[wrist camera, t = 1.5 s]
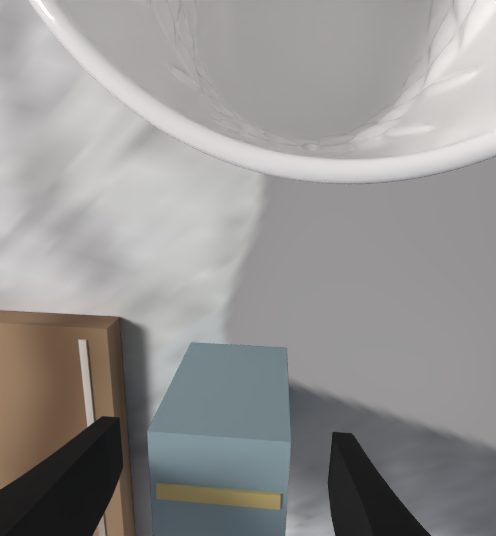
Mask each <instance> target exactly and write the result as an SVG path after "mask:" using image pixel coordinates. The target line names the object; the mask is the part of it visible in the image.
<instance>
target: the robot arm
mask: <svg viewBox="0 0 496 536" xmlns="http://www.w3.org/2000/svg"><path fill="white" fill-rule="evenodd" d="M123 467H124V466H123V454H122V442H121V429H120V417H109V416H102V417H100V418H99V419H98V420H96V421H95V422H94V423H92V424H91V425H90V426H88V427H87V428H86V429H84V430H83V431H82V432H81V433H79V434H78V435H77V436H75V437H74V438H73V439H72V440H70V441H69V442H68V443H66V444H65V445H64V446H62V447H61V448H60V449H58V450H57V451H56V452H54V453H53V454H52V455H50V456H49V457H48V458H46V459H45V460H43V461H42V462H40V463H39V464H38V465H36V466H35V467H33V468H32V469H30V470H29V471H28V472H26V473H25V474H23V475H22V476H20V477H19V478H17V479H16V480H14V481H13V482H11V483H10V484H8V485H7V486H5V487H3V488H2V489H0V536H93V534H94V532H95V530H96V528H97V526H98V524H99V522H100V520H101V518H102V516H103V514H104V512H105V510H106V508H107V507H108V505H109V502H110V500H111V498H112V496H113V494H114V491H115V488H116V486H117V483H118V481H119V478H120V475H121V472H122V470H123ZM328 489H329V499H330V508H331V517H332V522H333V527H334V532H335V536H431V535H430V534H429V533H428V532H427V531H426V530H425V529H424V528H423V527H422V525H421V524H420V523H419V522H418V521H417V520H416V519H415V518H414V516H413V515H412V514H411V513H410V512H409V511H408V509H407V508H406V507H405V506H404V505H403V503H402V502H401V501H400V500H399V499H398V497H397V496H396V495H395V493H394V492H393V491H392V490H391V488H390V487H389V486H388V484H387V483H386V482H385V480H384V479H383V478H382V476H381V475H380V474H379V472H378V471H377V469H376V468H375V467H374V465H373V464H372V462H371V461H370V459H369V458H368V457H367V455H366V454H365V452H364V451H363V449H362V447H361V446H360V444H359V443H358V441H357V440H356V438H355V437H354V435H353V434H352V433H339V432H333V435H332V446H331V456H330V466H329V476H328Z"/></svg>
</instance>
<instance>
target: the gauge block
mask: <svg viewBox="0 0 496 536" xmlns="http://www.w3.org/2000/svg"><path fill="white" fill-rule="evenodd" d="M147 439H148V456H149V474H150V491H151V509H152V527H153V536H285V530H286V514H287V499H288V483H289V467H290V452H291V429H290V406H289V384H288V362H287V348H285V347H268V346H250V345H233V344H211V343H193V342H191V344H190V346H189V348H188V350H187V352H186V354H185V356H184V358H183V360H182V362H181V364H180V366H179V368H178V370H177V372H176V374H175V376H174V378H173V380H172V382H171V384H170V386H169V388H168V390H167V392H166V394H165V396H164V398H163V400H162V402H161V404H160V406H159V408H158V410H157V412H156V414H155V416H154V418H153V420H152V422H151V424H150V426H149V428H148V430H147Z"/></svg>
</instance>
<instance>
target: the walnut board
mask: <svg viewBox="0 0 496 536" xmlns="http://www.w3.org/2000/svg"><path fill="white" fill-rule="evenodd" d="M102 416H109V417H120V429H121V442H122V454H123V466H124V467H123V470H122V472H121V475H120V478H119V481H118V483H117V486H116V488H115V491H114V494H113V496H112V498H111V500H110V502H109V505H108V507H107V508H106V510H105V512H104V514H103V516H102V518H101V520H100V522H99V524H98V526H97V528H96V530H95V532H94V534H93V536H135V524H134V510H133V496H132V483H131V469H130V455H129V441H128V428H127V414H126V400H125V387H124V373H123V359H122V346H121V332H120V318H119V317H111V316H92V315H74V314H55V313H36V312H18V311H0V489H2V488H3V487H5V486H7V485H8V484H10V483H11V482H13V481H14V480H16V479H17V478H19V477H20V476H22V475H23V474H25V473H26V472H28V471H29V470H30V469H32V468H33V467H35V466H36V465H38V464H39V463H40V462H42V461H43V460H45V459H46V458H48V457H49V456H50V455H52V454H53V453H54V452H56V451H57V450H58V449H60V448H61V447H62V446H64V445H65V444H66V443H68V442H69V441H70V440H72V439H73V438H74V437H75V436H77V435H78V434H79V433H81V432H82V431H83V430H84V429H86V428H87V427H88V426H90V425H91V424H92V423H94V422H95V421H96V420H98V419H99V418H100V417H102Z"/></svg>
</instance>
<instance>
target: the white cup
mask: <svg viewBox="0 0 496 536" xmlns="http://www.w3.org/2000/svg"><path fill="white" fill-rule="evenodd" d="M29 2H30V3H31V5H32V6H33V8H34V9H35V10H36V12H37V13H38V15H39V16H40V17H41V19H42V20H43V21H44V23H45V24H46V25H47V27H48V28H49V29H50V30H51V32H52V33H53V34H54V35H55V37H56V38H57V39H58V40H59V41H60V43H61V44H62V45H63V46H64V47H65V48H66V50H67V51H68V52H69V53H70V54H71V55H72V56H73V57H74V58H75V60H76V61H77V62H78V63H79V64H80V65H81V66H82V67H83V68H84V69H85V70H86V71H87V72H88V73H89V74H90V75H91V76H92V77H93V78H94V79H95V80H96V81H97V82H99V83H100V84H101V85H102V86H103V87H104V88H105V89H106V90H107V91H109V92H110V93H111V94H112V95H113V96H114V97H116V98H117V99H118V100H119V101H120V102H122V103H123V104H124V105H126V106H127V107H128V108H129V109H131V110H132V111H133V112H135V113H136V114H137V115H139V116H140V117H142V118H143V119H145V120H146V121H148V122H149V123H151V124H152V125H154V126H155V127H157V128H158V129H160V130H162V131H163V132H165V133H167V134H168V135H170V136H172V137H173V138H175V139H177V140H179V141H181V142H183V143H184V144H186V145H188V146H190V147H192V148H194V149H196V150H199V151H201V152H203V153H205V154H207V155H210V156H212V157H214V158H217V159H219V160H222V161H225V162H227V163H230V164H233V165H236V166H239V167H242V168H245V169H248V170H252V171H255V172H259V173H263V174H267V175H272V176H276V177H281V178H286V179H293V180H299V181H307V182H316V183H330V184H331V183H332V184H371V183H384V182H393V181H401V180H408V179H415V178H420V177H426V176H431V175H435V174H439V173H443V172H447V171H451V170H455V169H459V168H462V167H465V166H469V165H472V164H475V163H479V162H481V161H484V160H487V159H490V158H493V157H495V156H496V0H29Z"/></svg>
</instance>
